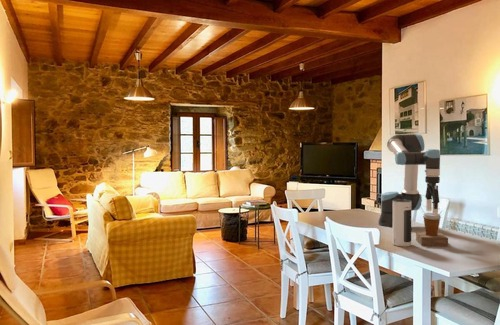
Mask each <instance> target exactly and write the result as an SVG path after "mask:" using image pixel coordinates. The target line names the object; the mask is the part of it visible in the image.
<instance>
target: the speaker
mask: <svg viewBox="0 0 500 325" xmlns="http://www.w3.org/2000/svg"><path fill="white" fill-rule="evenodd" d="M411 202H412V201H410V200H402V199H397V200H393V227H392V245H393V246H396V247H407V248H408V247H411V246H412V211H411Z"/></svg>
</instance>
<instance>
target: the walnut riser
mask: <svg viewBox="0 0 500 325" xmlns="http://www.w3.org/2000/svg"><path fill="white" fill-rule="evenodd" d="M415 240H416V242H417V243H418V244H420V246H421V247H440V248H448V247H449V237H447V236H446V235H445V234H443V233H442V232H438V235H437V236H428V235H426V233H425V232H424V231H423V232H422V231H416V232H415Z"/></svg>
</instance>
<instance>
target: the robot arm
mask: <svg viewBox="0 0 500 325" xmlns="http://www.w3.org/2000/svg"><path fill="white" fill-rule="evenodd" d="M386 146H387V149H388V151H390V152H392V154H394V156H395V157H394V160H395V164H396V165H397V166H398V165H401V166H404V179H403V181H404V183H403V189H402V190H401V192H400V193H399V192H398V191H387V192H382V194H381V196H380V201H381V202H380V203H381V204H380V215H379V219H378V222H377V223H378V225H379V226H383V227H392V228H393V200H397V199H402V200H410V201H412V202H411V212H412V211H418V210H420V209H421V206H422V202H423V198H422V194H421V193H420V191H419V190H418V178H419V177H418V175H419V166H425V170H424V172H425V177H424V178H425V180H424V181H425V183H426V190H425V200H426V201H425V202H426V207H425V208H426V211H427V212H428V211H432V212H431V213H432V214H433V215H438V214H439V203H440V195H439V194H440V193H439V185H437V184H439V183H441V182H440V178H441V177H440V176H441V175H440V174H441V169H440V168H441V150H440V149H437V148H435V149H432V148H430V149H426V150H425V140H424V137H423V135H422V134H417V133H410V134H409V133H408V134H407V133H405V134H402V133H401V134H395V135H393V136H391V137H390V138H389V139H388V140H387V142H386Z"/></svg>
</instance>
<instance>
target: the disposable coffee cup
mask: <svg viewBox="0 0 500 325" xmlns="http://www.w3.org/2000/svg"><path fill="white" fill-rule="evenodd" d="M422 218H423V223H424V231H425V233H426V235H428V236H437V235H438V233H439V226H440V221H441V218H442V217H441V214H439V213H438V215H433V214H432V212H426V213H424V214H423V215H422Z"/></svg>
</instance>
